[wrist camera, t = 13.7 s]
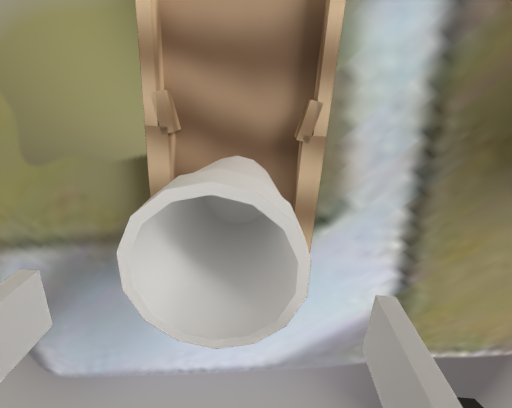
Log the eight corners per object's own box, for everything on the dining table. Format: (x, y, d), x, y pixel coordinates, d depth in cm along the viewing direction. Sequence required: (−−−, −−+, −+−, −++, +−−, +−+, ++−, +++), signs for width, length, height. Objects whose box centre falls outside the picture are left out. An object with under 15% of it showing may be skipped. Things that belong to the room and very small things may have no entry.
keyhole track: (147, -35, 21) (124, -60, 18) (340, -24, 21) (355, -47, 18) (164, 244, 30) (150, 265, 26) (303, 253, 29) (309, 276, 26)
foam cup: (212, 117, 24) (158, 143, 12) (308, 168, 26) (349, 238, 13) (170, 211, 27) (94, 307, 15) (258, 252, 29) (253, 371, 17)
